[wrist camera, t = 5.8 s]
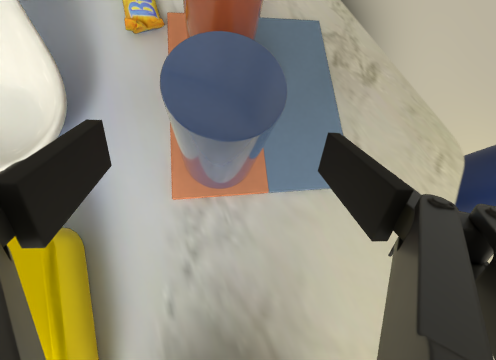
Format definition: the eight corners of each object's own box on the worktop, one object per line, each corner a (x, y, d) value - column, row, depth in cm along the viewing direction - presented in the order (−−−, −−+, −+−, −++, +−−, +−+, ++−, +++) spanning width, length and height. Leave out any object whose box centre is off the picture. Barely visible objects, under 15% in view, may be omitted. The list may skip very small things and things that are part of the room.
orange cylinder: (247, 27, 28) (270, -105, 17) (254, 78, 26) (283, -33, 16) (187, 24, 27) (172, -119, 16) (189, 77, 25) (175, -43, 14)
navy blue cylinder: (249, 122, 25) (279, 32, 14) (257, 186, 23) (296, 139, 13) (181, 123, 24) (158, 27, 13) (184, 191, 22) (160, 144, 11)
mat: (317, 24, 30) (319, 20, 30) (351, 187, 25) (354, 185, 25) (168, 16, 27) (167, 12, 27) (172, 199, 22) (172, 198, 22)
